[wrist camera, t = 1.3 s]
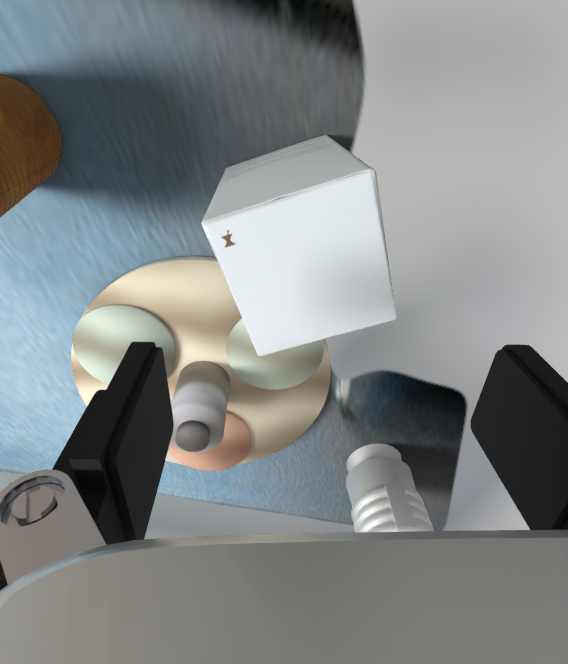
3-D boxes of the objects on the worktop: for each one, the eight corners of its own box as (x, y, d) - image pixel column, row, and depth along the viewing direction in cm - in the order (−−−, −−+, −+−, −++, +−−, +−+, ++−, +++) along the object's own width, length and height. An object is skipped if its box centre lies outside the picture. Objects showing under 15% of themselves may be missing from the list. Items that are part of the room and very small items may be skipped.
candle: (412, 440, 41) (477, 598, 29) (398, 484, 45) (451, 642, 32) (346, 439, 41) (382, 600, 28) (338, 483, 45) (366, 644, 32)
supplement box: (257, 264, 31) (252, 361, 20) (223, 165, 27) (194, 218, 16) (352, 237, 30) (400, 324, 19) (331, 131, 26) (376, 163, 15)
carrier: (45, 253, 30) (-22, 303, 23) (341, 258, 31) (363, 308, 24) (105, 458, 41) (73, 532, 34) (319, 456, 42) (329, 528, 35)
